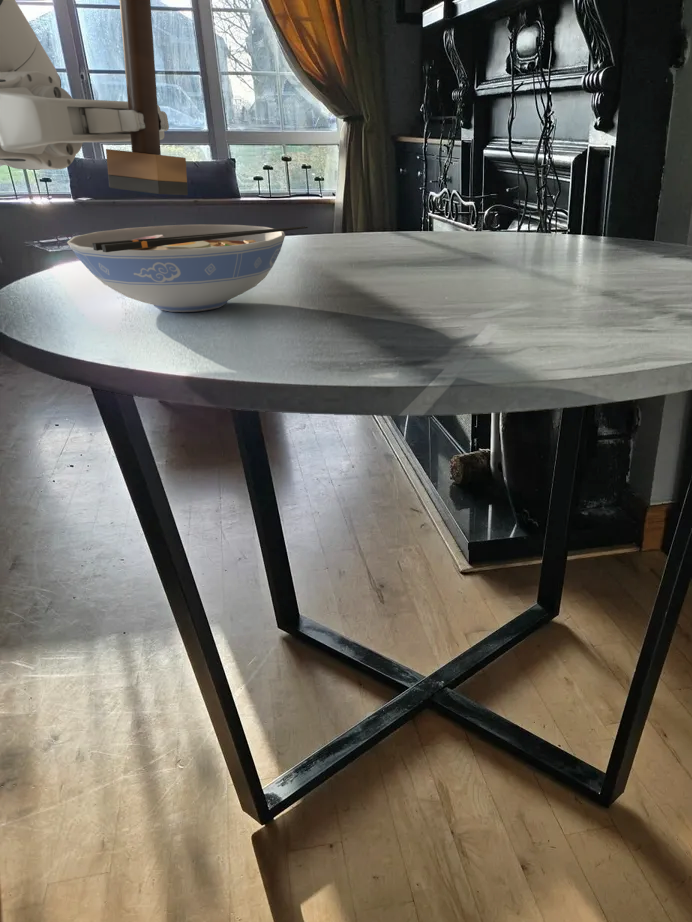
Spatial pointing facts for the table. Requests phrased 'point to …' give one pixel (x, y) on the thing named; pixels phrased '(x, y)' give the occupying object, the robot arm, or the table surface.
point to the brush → (145, 161)
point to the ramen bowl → (181, 262)
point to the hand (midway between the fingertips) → (152, 120)
